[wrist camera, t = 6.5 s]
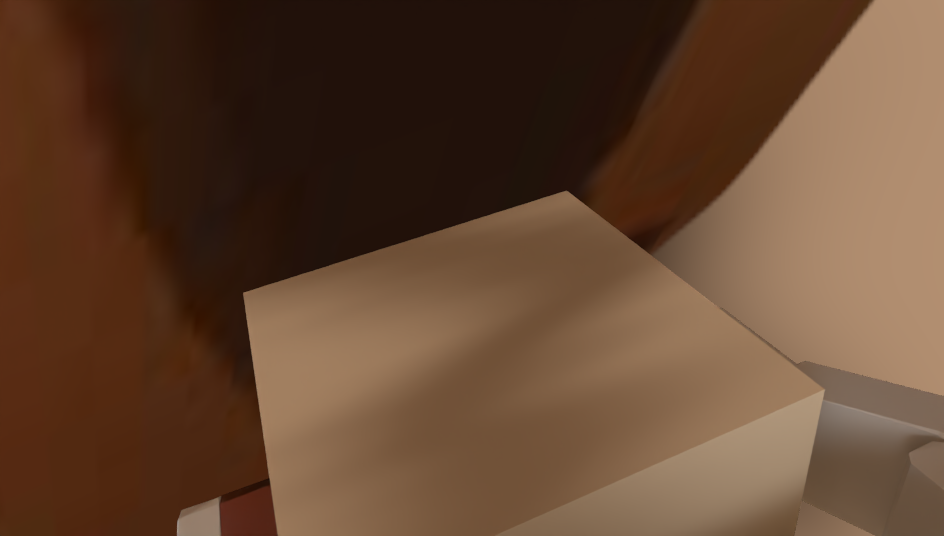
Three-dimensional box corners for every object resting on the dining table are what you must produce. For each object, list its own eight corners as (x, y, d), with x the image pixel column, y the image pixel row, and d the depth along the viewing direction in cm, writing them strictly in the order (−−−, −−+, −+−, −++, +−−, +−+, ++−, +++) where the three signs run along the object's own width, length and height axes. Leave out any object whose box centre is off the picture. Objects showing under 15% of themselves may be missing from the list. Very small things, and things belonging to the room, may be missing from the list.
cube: (566, 190, 10) (824, 389, 6) (583, 417, 13) (767, 660, 9) (243, 292, 9) (290, 626, 5) (336, 519, 12) (417, 854, 7)
